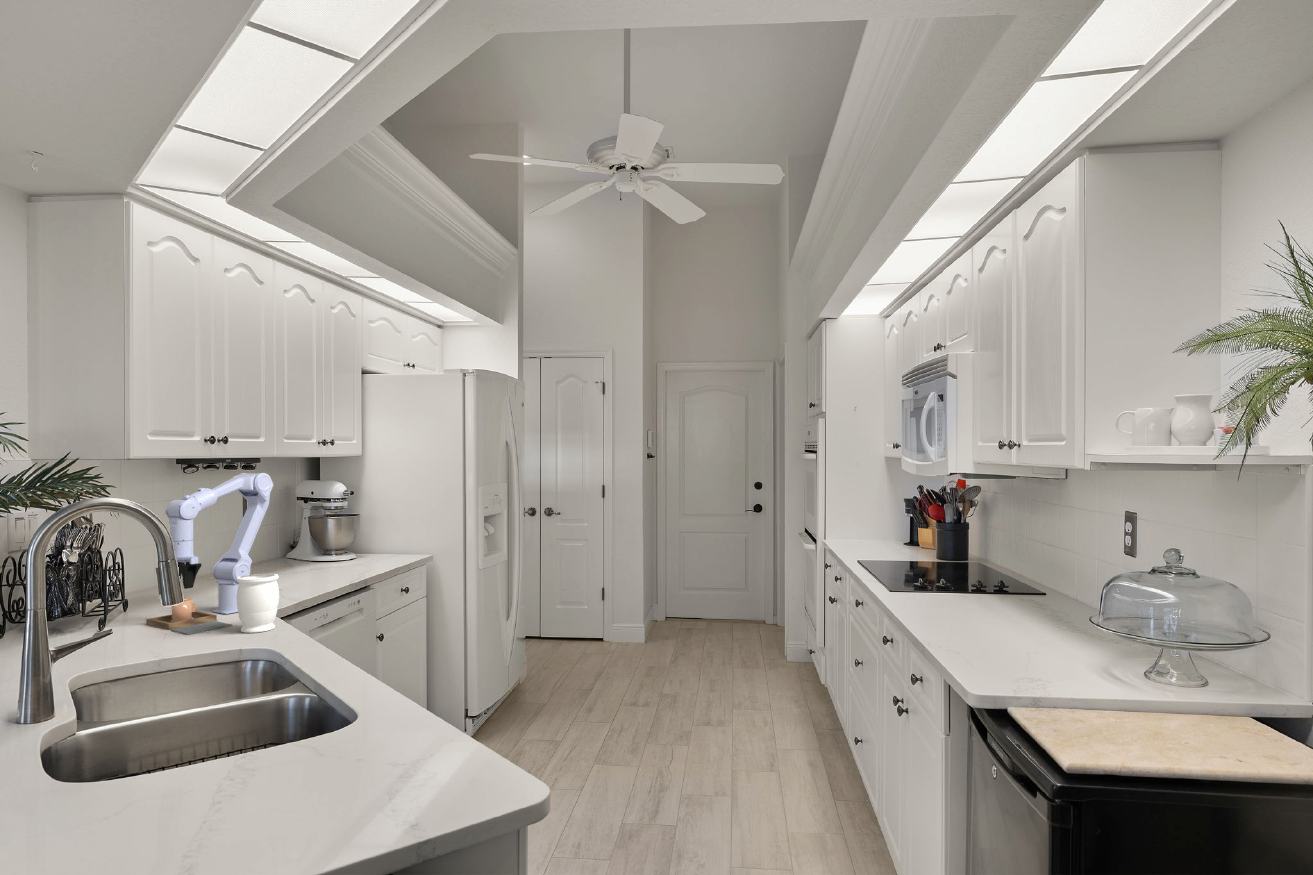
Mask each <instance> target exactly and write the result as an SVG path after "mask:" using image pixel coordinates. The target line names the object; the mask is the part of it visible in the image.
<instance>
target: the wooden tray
mask: <svg viewBox="0 0 1313 875" xmlns="http://www.w3.org/2000/svg"><path fill="white" fill-rule="evenodd" d="M217 617H218V616H217V614H212V613H208V612H203V611H199V610H198V611H197V610H195V612H192V619H189V620H184V621H179V622H173V623H172V613H171V614H165V615H162V616H155V617H150V618H146V619H145V621H146V622H145V623H146V624H145V625H147V626H151V627H154V628H160V629H163V630H168V631H171V629H176V628H181V627H186V626H192V625H197V624H202V623H207V622H212V621H218V619H217Z"/></svg>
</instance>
